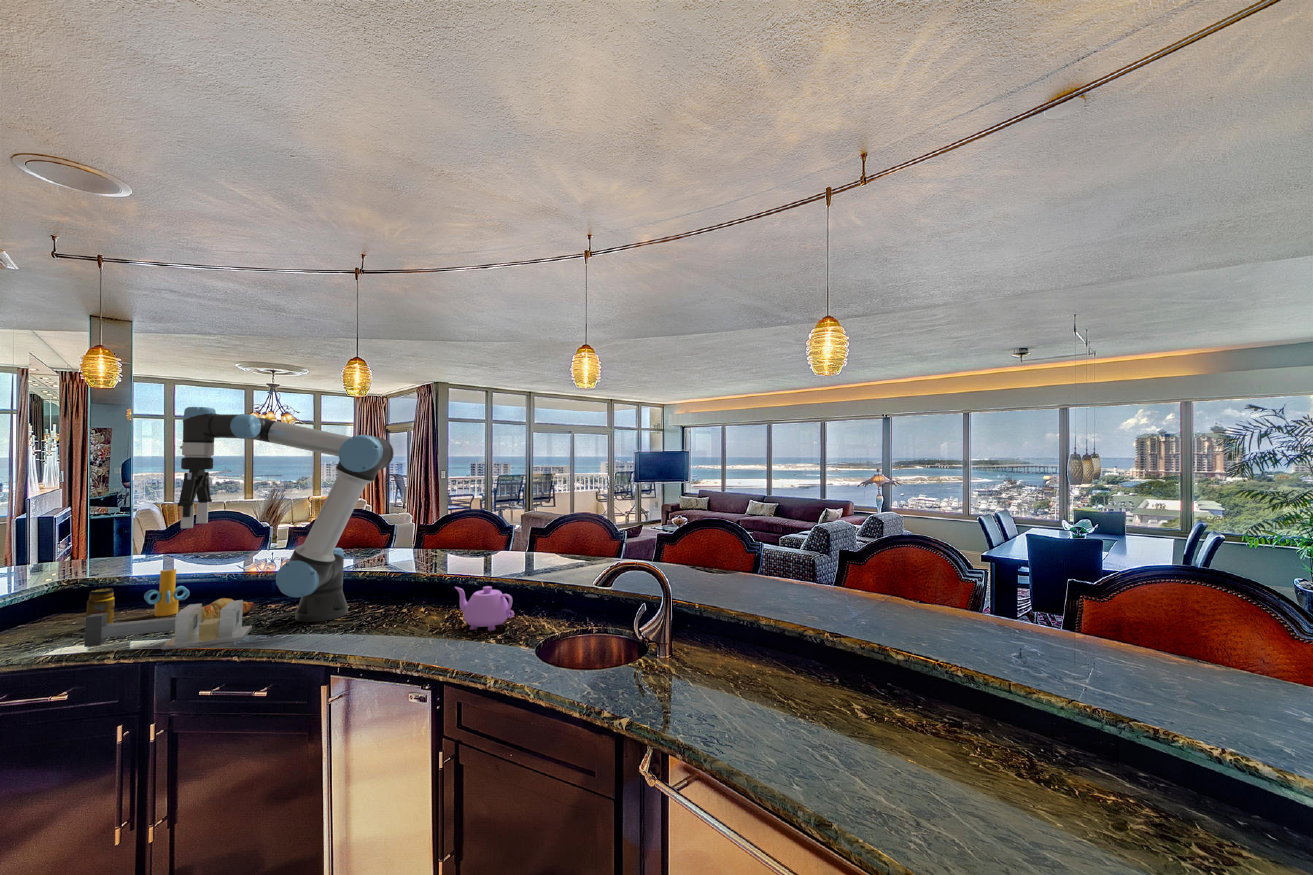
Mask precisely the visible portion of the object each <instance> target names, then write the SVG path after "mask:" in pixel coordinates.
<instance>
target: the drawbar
mask: <svg viewBox="0 0 1313 875" xmlns="http://www.w3.org/2000/svg"><path fill="white" fill-rule="evenodd" d="M107 615H108V613H100V614H91V615H89V616H87V617H85V628H84V629H85V631H84V632H85V634H84V645H83V646H84V648H90V647H96V646H97V647H98V646H102V645H104V643H107V638H112V637H121V636H123V637H124V636H132V635H141V634H149V633H158V632H160V633H161V632H170V631H171V632H172V631H175V620H176V616H173V617H163V618H154V619H143V620H142V619H141V620H133V621H132V620H131V621H122V622H121V621H120V622H113V623H110V624H107ZM194 626H196V615H195V616H194V617H193V627H194Z"/></svg>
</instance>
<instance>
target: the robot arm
mask: <svg viewBox="0 0 1313 875" xmlns="http://www.w3.org/2000/svg"><path fill="white" fill-rule="evenodd" d="M183 411H184V412H183V419H182V443H181V445H180V446H179V449H181V455H182V456H184V457H181V458H180V459H181V460H180V462H181V463H180V465H181V466H180V469H182V470H185V471H186V470H188V472H184V474H183V483H182V486H181V491H180V496H179V501H178V502H177V507H181V511H180V513H181V514H180V529H193V528H194V519H195V524H197V525H198V524H208V521H209V520H208V519H209V503H212V501H213V499H212V496H211V487H210V479H209V476H210V473H209V471H206V470H212V469H214V458H213V457H212V456H215V439H220V438H221V439H238V440H239V439H241V440H255V441H260V442H265V443H270V444H274V445H280V446H286V447H291V448H296V449H300V450H305V451H310V452H315V453H320V454H324V455H329V456H334V457H338V460H339V461H338V463H337V465H336V467H335V471H336V472H337V477H336V478H335V480H334V483H333V484H332V487H331V489H330V490H329V492H328V494H327V495H326V496H327V497H326V498H325V501H324V503H323V505H322V507H321V508H320V510H319V512H318V514H317V517H316V518H315V520H314V523H313V524H312V527H311V528H310V530H309V533H308V534H307V537H306V538H305V540H304V542H303V544H301V545H298V546H296V547H295V548H294V550H293V552H292V555H291V556H290V558H289V560H288V561H287V562H285V563H284V564H283V565H281V567H279V569H278V571H277V572H276V575H275V583H276V586H277V588H278V589H279V591H280V592H281V593H282V594H284V595H285V596H286V597H290V598H295V599H296V598H300V600H299V603H298V605H297V608H296V610H295V621H297V622H302V623H315V622H324V621H330V620H331V621H332V620H334V619H339V618H342V617H344V616H346V615H347V614H348V613H349V606H348V605H349V604H348V602H347V600H346V597H345V594H344V591H343V589H344V588H343V587H344V586H343V584H344V564H345V563H344V560H345V556H344V549H343V548H341V547H336V546H337V544H338V542H339V540H340V538H341V536H342V535H343V533H344V530H345V528H346V526H347V524H348V522H349V520H350V518H351V516H352V514H353V512H354V510H355V509H356V506H357V504H358V502H359V500H360V498H361V496H362V494H363V491H364V489H365V487H366V486H367V485H369V484H371V483H373V482H374V481H375V479H376V476H377V475H378V473H379V471H381V470H383V469H385V468H387V467H388V466H389V465H390V464H391V462H392V461H393V458H394V454H395V452H394V447H393V446H392V444H391V443H390V441H388V440H387V439H385V438H383V437H379V436H373V435H368V434H359V435H358V434H357V435H354V436H349V435H344V434H339V433H334V432H328V431H324V430H322V429H321V430H319V429H316V428H311V427H306V426H301V425H295V424H292V423H287V422H282V421H276V420H273V419H272V420H271V419H269V418H266V417H265V418H264V417H258V416H256V415H254V414H244V413H240V414H237V413H236V414H230V413H229V414H224V413H223V414H221V413H220V414H219V413H217V412H216V409H215V408H213V407H209V406H208V407H207V406H206V407H205V406H204V407H203V406H188V407H185V408H184V410H183ZM196 497H197V503H196V513H195V505H194V502H195V498H196ZM195 514H196V517H195V516H194V515H195ZM194 517H195V518H194Z"/></svg>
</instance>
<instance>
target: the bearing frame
mask: <svg viewBox="0 0 1313 875" xmlns="http://www.w3.org/2000/svg"><path fill="white" fill-rule="evenodd" d="M243 602H244V600H243V599H238V600H233V601H230V602H229V603H228V604H227V605H226V606H224V607H223V608H222V609H221V610H220V632H219V635H218V636H217V637H212V638H203V639H199V625H200V624H201V615H202V607H203V603H195V604H194V603H193V604H188V605H186V607H184V608H183V609H181V610H179V611H178V613H176V614H175V617H176V620H175V630H174V636H173V637H171V639H169V640H168V641H167V642H165V643H164V644H163V645H162V646H161V651H163V650H174V649H181V648H189V647H197V646H198V647H200V646H209V645H215V644H224V643H231V642H242V641H243V640H244V639H245V638H246V637H247V636H248V634H249V633H250V632H251V631H252V629H253V626H252V625H246V626H243V614H242V610H243ZM195 615H196V626H194V627H193V617H194V616H195Z"/></svg>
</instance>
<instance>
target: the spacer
mask: <svg viewBox="0 0 1313 875" xmlns="http://www.w3.org/2000/svg"><path fill="white" fill-rule="evenodd" d="M219 632H220V618H215V619H206V620H205V621H203V622H202V623H201V624H200V625H199V639H203V638H212V637H217V636H218V635H219Z"/></svg>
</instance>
